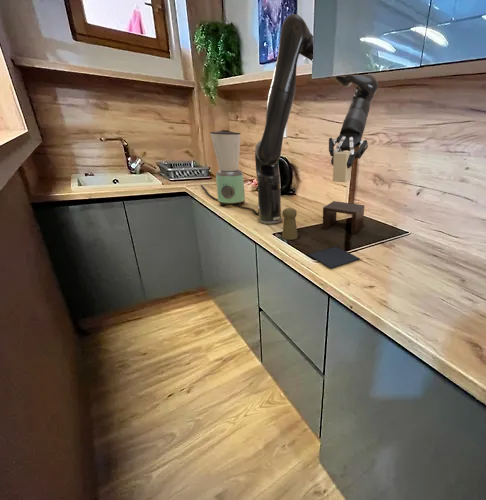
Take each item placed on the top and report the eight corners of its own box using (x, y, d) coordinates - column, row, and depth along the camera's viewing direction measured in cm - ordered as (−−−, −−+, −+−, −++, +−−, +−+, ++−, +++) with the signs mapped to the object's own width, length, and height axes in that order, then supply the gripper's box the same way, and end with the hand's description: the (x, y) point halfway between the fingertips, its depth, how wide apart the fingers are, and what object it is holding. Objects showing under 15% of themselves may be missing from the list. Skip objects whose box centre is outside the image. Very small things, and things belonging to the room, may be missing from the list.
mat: (308, 255, 100) (308, 254, 100) (336, 247, 107) (336, 246, 107) (330, 269, 92) (330, 267, 92) (359, 259, 99) (359, 258, 99)
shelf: (332, 220, 136) (333, 201, 133) (362, 225, 132) (364, 205, 128) (322, 228, 126) (323, 207, 122) (354, 233, 121) (356, 212, 118)
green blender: (242, 208, 148) (236, 131, 134) (214, 208, 146) (205, 130, 133) (248, 199, 165) (243, 130, 151) (223, 198, 164) (216, 129, 150)
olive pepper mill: (295, 240, 112) (294, 211, 108) (279, 238, 113) (278, 210, 109) (299, 235, 118) (299, 207, 113) (285, 233, 119) (284, 205, 114)
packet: (332, 181, 101) (333, 152, 97) (338, 178, 106) (339, 151, 102) (345, 182, 99) (346, 153, 96) (350, 179, 104) (352, 152, 101)
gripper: (375, 135, 106) (363, 175, 100) (336, 132, 110) (323, 171, 104) (373, 118, 99) (360, 160, 93) (332, 116, 103) (317, 156, 98)
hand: (340, 165), depth 99 cm, fingers closed on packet, 4 cm apart
